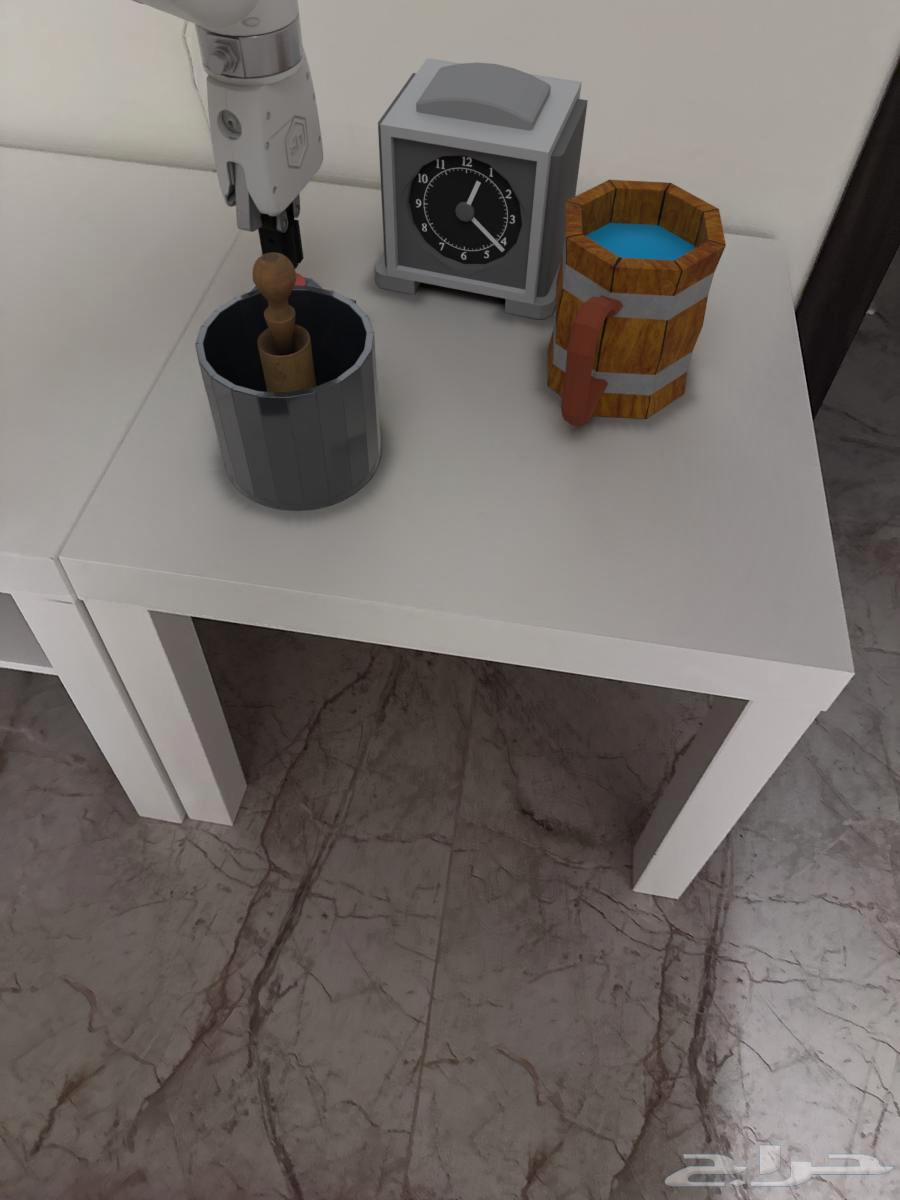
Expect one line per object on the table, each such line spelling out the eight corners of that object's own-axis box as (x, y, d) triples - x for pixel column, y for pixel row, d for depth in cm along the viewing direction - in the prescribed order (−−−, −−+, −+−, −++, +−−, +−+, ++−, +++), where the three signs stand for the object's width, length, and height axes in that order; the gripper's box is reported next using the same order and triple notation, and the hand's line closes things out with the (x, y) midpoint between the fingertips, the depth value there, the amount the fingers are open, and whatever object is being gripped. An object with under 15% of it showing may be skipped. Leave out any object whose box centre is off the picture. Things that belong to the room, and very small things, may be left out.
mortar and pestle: (247, 460, 77) (205, 271, 63) (284, 411, 81) (252, 222, 66) (318, 483, 76) (292, 295, 61) (353, 432, 80) (335, 243, 65)
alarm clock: (371, 286, 93) (359, 99, 79) (412, 216, 101) (409, 34, 86) (549, 321, 90) (571, 133, 76) (577, 247, 98) (603, 63, 83)
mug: (574, 310, 91) (595, 162, 79) (706, 351, 88) (749, 203, 76) (490, 433, 81) (499, 285, 69) (636, 485, 77) (673, 338, 65)
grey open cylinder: (196, 485, 77) (162, 371, 67) (268, 386, 84) (247, 270, 74) (342, 528, 74) (328, 416, 64) (403, 422, 82) (399, 307, 72)
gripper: (249, 96, 63) (284, 320, 78) (339, 9, 71) (355, 226, 86) (152, 77, 65) (205, 301, 79) (252, -6, 73) (283, 210, 88)
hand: (283, 261), depth 83 cm, fingers closed
